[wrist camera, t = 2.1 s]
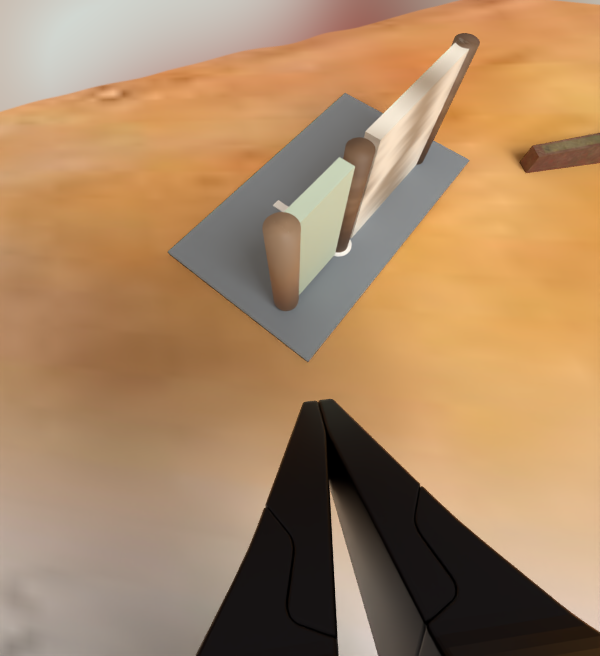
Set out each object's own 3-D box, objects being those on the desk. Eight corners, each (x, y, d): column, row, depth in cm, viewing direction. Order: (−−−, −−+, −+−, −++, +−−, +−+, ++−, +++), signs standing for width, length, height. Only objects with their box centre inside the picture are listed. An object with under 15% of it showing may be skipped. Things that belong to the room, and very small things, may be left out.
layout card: (307, 362, 21) (308, 361, 20) (169, 254, 23) (167, 251, 23) (467, 162, 27) (470, 159, 27) (344, 96, 30) (345, 91, 29)
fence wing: (320, 244, 23) (333, 153, 15) (338, 257, 22) (361, 170, 15) (268, 301, 21) (254, 230, 14) (287, 315, 21) (284, 250, 13)
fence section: (340, 256, 23) (364, 164, 15) (323, 246, 23) (339, 149, 15) (427, 157, 27) (484, 40, 19) (412, 148, 27) (461, 30, 19)
